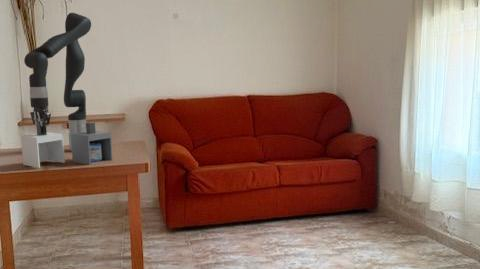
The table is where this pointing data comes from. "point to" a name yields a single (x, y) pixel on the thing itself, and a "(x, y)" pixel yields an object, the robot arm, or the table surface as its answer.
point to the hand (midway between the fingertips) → (41, 133)
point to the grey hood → (42, 148)
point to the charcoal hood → (83, 147)
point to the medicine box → (95, 152)
